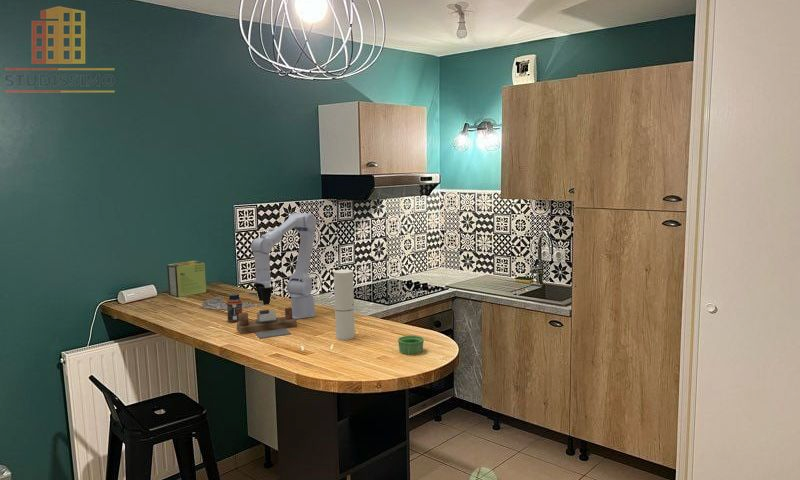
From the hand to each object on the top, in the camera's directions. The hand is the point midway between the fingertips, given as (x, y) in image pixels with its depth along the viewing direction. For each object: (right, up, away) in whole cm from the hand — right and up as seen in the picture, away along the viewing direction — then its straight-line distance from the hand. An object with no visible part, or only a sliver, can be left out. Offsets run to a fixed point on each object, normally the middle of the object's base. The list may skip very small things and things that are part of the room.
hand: (264, 302), depth 243 cm
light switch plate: (+1, -7, +1) cm, 7 cm away
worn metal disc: (-23, -5, +49) cm, 54 cm away
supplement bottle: (-15, -9, +13) cm, 22 cm away
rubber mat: (+5, -11, -7) cm, 15 cm away
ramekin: (+58, -14, -31) cm, 67 cm away
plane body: (+1, -10, +1) cm, 10 cm away
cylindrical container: (+33, -12, -13) cm, 38 cm away
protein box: (-54, -3, +69) cm, 87 cm away
